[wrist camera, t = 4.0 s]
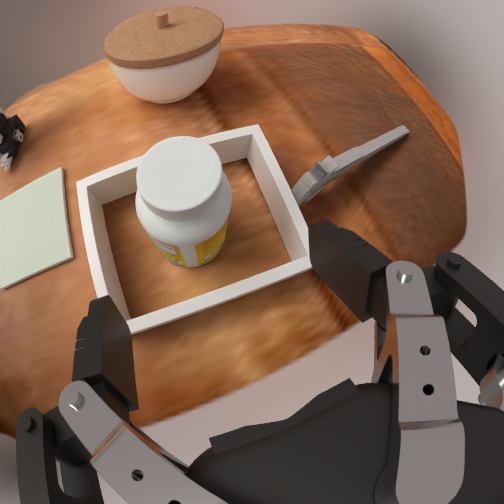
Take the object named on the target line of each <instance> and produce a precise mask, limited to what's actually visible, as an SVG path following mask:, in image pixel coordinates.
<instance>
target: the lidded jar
mask: <svg viewBox="0 0 504 504" xmlns="http://www.w3.org/2000/svg"><path fill="white" fill-rule="evenodd" d="M223 31H224V24H223V22H222V20H221V18H220V17H219V16H217V15H216V14H215V13H213V12H211V11H209V10H206V9H203V8H198V7H191V6H171V7H163V8H158V9H153V10H150V11H146V12H143V13H141V14H138V15H136V16H133V17H131V18H129V19H127V20H126V21H124V22H122V23H121V24H120V25H118V26H117V27H116V28H115V29H113V30H112V31H111V33H110V34H109V35H108V37H107V39H106V41H105V44H104V49H105V53H106V56H107V58H108V59H109V62H110V65H111V68H112V70H113V72H114V74H115V76H116V78H117V80H118V81H119V83H120V84H121V86H122V87H123V88H124V89H125V90H126V91H128V92H129V93H130V94H132V95H133V96H135V97H137V98H140V99H142V100H146V101H150V102H152V103H157V104H167V103H173V102H176V101H179V100H182V99H184V98H186V97H187V96H189V95H190V94H191V93H192V92H194V91H195V90H197V89H198V88H199V87H200V86H202V85H203V84H204V83H205V82H206V81H207V79H208V78H209V77H210V75H211V74H212V72H213V70H214V68H215V66H216V63H217V60H218V56H219V52H220V47H221V39H222V36H223Z"/></svg>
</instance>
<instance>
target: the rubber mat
mask: <svg viewBox="0 0 504 504" xmlns="http://www.w3.org/2000/svg"><path fill="white" fill-rule="evenodd" d="M73 258H74V256H73V251H72V245H71V239H70V232H69V225H68V218H67V209H66V199H65V187H64V170H63V168H62V167H60V168H58V169H56V170H54V171H52V172H50V173H48V174H46V175H44V176H42V177H40V178H38V179H36V180H35V181H33V182H31V183H29V184H27V185H26V186H24V187H22V188H20V189H19V190H17V191H15V192H14V193H12V194H10V195H9V196H7V197H6V198H4V199H2V200H1V201H0V286H1V289H6V288H8V287H10V286H12V285H14V284H16V283H18V282H21V281H23V280H25V279H27V278H29V277H31V276H34V275H36V274H38V273H40V272H43V271H45V270H47V269H49V268H52V267H54V266H56V265H59V264H61V263H63V262H66V261H68V260H70V259H73Z"/></svg>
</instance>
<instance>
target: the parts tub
mask: <svg viewBox="0 0 504 504" xmlns="http://www.w3.org/2000/svg"><path fill="white" fill-rule="evenodd" d="M198 139H200V140H203V141H205V142H206V143H208V144H209V145H210V146H212V147H213V149H214V150H215V151H216V152H217V154H218V156H219V157H220V160H221V164H225V163H229V162H232V161H236V160H240V159H244V158H247V159H248V162H249V164H250V166H251V168H252V170H253V173H254V175H255V177H256V179H257V182H258V184H259V186H260V188H261V191H262V193H263V195H264V198H265V200H266V202H267V205H268V207H269V209H270V211H271V214H272V216H273V218H274V221H275V223H276V225H277V228H278V230H279V233H280V235H281V237H282V240H283V242H284V244H285V247H286V249H287V252H288V254H289V257H290V259H291V261H292V262H289V263H287V264H284V265H281V266H279V267H276V268H273V269H271V270H268V271H265V272H263V273H260V274H257V275H255V276H252V277H249V278H247V279H244V280H241V281H238V282H236V283H233V284H230V285H227V286H225V287H222V288H219V289H216V290H214V291H211V292H208V293H205V294H203V295H200V296H197V297H194V298H191V299H188V300H186V301H183V302H180V303H177V304H174V305H171V306H169V307H166V308H163V309H160V310H157V311H154V312H151V313H148V314H145V315H142V316H139V317H137V318H134V319H131V318H130V315H129V312H128V308H127V305H126V302H125V299H124V295H123V292H122V289H121V285H120V282H119V278H118V274H117V271H116V267H115V263H114V259H113V255H112V251H111V247H110V242H109V238H108V233H107V228H106V223H105V218H104V213H103V208H102V205H103V204H106V203H108V202H111V201H113V200H116V199H119V198H121V197H124V196H126V195H129V194H132V193H134V192H137V189H138V187H137V182H136V173H137V169H138V165H139V163H140V161H141V159H142V157H143V156H144V155H143V156H140V157H137V158H134V159H132V160H129V161H126V162H123V163H121V164H118V165H116V166H113V167H110V168H108V169H105V170H103V171H101V172H98V173H96V174H93V175H91V176H89V177H86V178H84V179H82V180H80V181H77V182H76V183H77V193H78V201H79V209H80V216H81V223H82V229H83V235H84V240H85V246H86V251H87V256H88V260H89V265H90V269H91V274H92V278H93V282H94V286H95V290H96V294H97V297H98V298H100V297H103V296H106V295H109V296H110V297H111V298H112V300H113V301H114V303H115V305H116V306H117V308H118V310H119V311H120V313H121V314H122V316H123V318H124V319H125V321H126V322H127V324H128V326H129V329H130V332H131V335H133V334H137V333H140V332H143V331H146V330H149V329H152V328H155V327H158V326H161V325H164V324H166V323H169V322H172V321H175V320H178V319H181V318H184V317H187V316H189V315H192V314H195V313H198V312H201V311H204V310H206V309H209V308H212V307H215V306H217V305H220V304H223V303H226V302H228V301H231V300H234V299H236V298H239V297H242V296H244V295H247V294H250V293H252V292H255V291H257V290H260V289H263V288H265V287H268V286H270V285H273V284H276V283H278V282H281V281H283V280H286V279H288V278H291V277H293V276H296V275H298V274H301V273H303V272H306V271H308V270H310V269H311V268H312V265H311V263H310V258H309V240H308V227H307V224H306V222H305V220H304V218H303V216H302V213H301V211H300V209H299V207H298V204H297V202H296V200H295V198H294V196H293V194H292V192H291V189H290V187H289V185H288V183H287V181H286V179H285V177H284V175H283V173H282V171H281V169H280V166H279V164H278V162H277V160H276V158H275V156H274V154H273V152H272V150H271V148H270V146H269V144H268V142H267V140H266V139H265V137H264V135H263V133H262V131H261V129H260V127H259V125H258V124H257V125H252V126H247V127H243V128H238V129H234V130H229V131H225V132H221V133H217V134H213V135H209V136H205V137H201V138H198Z"/></svg>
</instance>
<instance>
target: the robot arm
mask: <svg viewBox="0 0 504 504" xmlns="http://www.w3.org/2000/svg"><path fill="white" fill-rule="evenodd" d="M308 240H309V258H310V263H311V265H312V268H313V269H314V271H315V272H316V273H317V274H318V275H319V276H320V277H321V279H322V280H323V281H324V282H325V283H326V284H327V285H328V286H329V287H330V288H331V289H332V290H333V291H334V292H335V293H336V295H337V296H338V297H339V298H340V299H341V300H342V301H343V302H344V303H345V304H346V305H347V306H348V307H349V309H350V310H351V311H352V312H353V313H354V314H355V315H356V316H357V317H358V318H359V319H360V321H361V322H362V323H363V322H365V321H367V320H368V319H370V318H372V317H373V318H374V319H375V352H374V371H373V376H372V382H371V383H365V384H359V385H354V383H353V382H352V381H351V380H350V378H349V379H347V380H345V381H343V382H341V383H340V384H338V385H336V386H334V387H332V388H330V389H329V390H327V391H325V392H323V393H321V394H319V395H317V396H316V397H315V398H314V399H312V400H311V401H310V402H309V403H308V404H306V405H305V406H304V407H303V408H301V409H300V410H299V411H297V412H296V413H295V414H294V415H292V416H291V417H289V418H288V419H286V420H282V421H277V422H270V423H264V424H258V425H250V426H244V427H242V428H239V429H236V430H233V431H230V432H227V433H224V434H221V435H217V436H214V437H211V438H209V440H210V442H211V445H212V447H211V448H209V449H207V450H206V451H205V452H203V453H202V454H201V455H200V456H198V457H197V458H196V459H195V460H194V461H193V463H192V464H191V465H190V466H188V465H186V464H185V463H183V462H182V461H180V460H179V459H177V458H176V457H174V456H173V455H171V454H170V453H169V452H167V451H166V450H165V449H163V448H162V447H161V446H160V445H158V444H157V443H156V442H155V441H153V440H152V439H151V438H150V437H148V436H147V435H146V434H145V433H144V432H143V431H142V430H141V429H139V428H138V427H137V426H136V425H135V424H134V423H133V422H131V421H130V416H129V412H130V411H134V410H138V409H139V405H138V398H137V390H136V381H135V372H134V361H133V347H132V335H131V332H130V329H129V326H128V324H127V322H126V321H125V319H124V318H123V316H122V314H121V313H120V311H119V310H118V308H117V306H116V305H115V303H114V301H113V300H112V298H111V297H110V296H109V295H106V296H103V297H100V298H97V299H94V300H92V301H90V304H89V311H88V316H86V317H84V318H83V320H82V321H81V323H80V325H79V327H78V331H77V338H76V340H77V341H76V346H75V349H76V350H75V354H74V364H73V375H72V383H70V384H69V385H67V386H66V387H65V388H64V389H63V391H62V392H61V395H60V397H59V403H58V405H59V406H57V407H55V408H54V409H52V410H50V411H48V412H47V413H45V414H43V413H41V412H40V411H39V410H37V409H36V408H28V409H26V410H24V411H23V412H22V413H21V415H20V417H19V419H18V422H17V432H16V453H17V454H16V456H17V474H18V486H19V494H20V501H21V504H104V501H103V497H102V493H101V489H100V485H99V480H98V475H97V472H98V473H99V474H100V475H101V476H102V477H103V478H104V479H105V481H106V482H107V483H108V484H109V485H110V486H111V487H112V488H113V489H114V490H115V491H116V492H117V493H118V494H119V495H120V496H121V497H122V498H123V499H124V500H125V501H126V502H127V503H128V504H504V291H503V290H502V289H501V288H500V287H499V286H498V285H496V284H495V283H494V282H493V281H492V280H490V279H489V278H488V277H487V276H486V275H485V274H483V273H482V272H481V271H480V270H479V269H477V268H476V267H475V266H474V265H472V264H471V263H470V262H469V261H467V260H466V259H465V258H464V257H462V256H461V255H459V254H456V253H453V252H444V253H441V254H440V255H439V256H438V258H437V262H436V266H432V267H427V268H422V269H421V268H420V267H418V266H417V265H415V264H414V263H411V262H408V261H396V262H393V261H392V260H390V259H389V258H388V257H386V256H385V255H384V254H383V253H381V252H380V251H379V250H377V249H376V248H375V247H373V246H372V245H371V244H370V245H369V243H368V242H367V241H365V240H364V239H362V238H361V237H360V236H358V235H357V234H356V233H354V232H353V231H350V230H347V229H344V228H338V227H337V226H335V225H334V224H333V223H331V222H330V221H328V220H324V221H321V222H318V223H315V224H312V225H310V226H309V227H308ZM458 299H460V300H461V301H462V302H463V303H464V304H465V305H466V306H467V307H468V308H469V309H470V310H471V311H472V312H473V313H474V314H475V315H476V318H477V325H476V327H474V326H473V325H472V324H471V323H470V322H469V321H468V320H467V319H466V318H465V317H464V316H463V315H462V314H461V313H460V312H459V311H458V310H457V309H456V308H455V306H456V303H457V301H458ZM451 353H452V354H453V355H454V356H455V357H456V358H457V360H458V361H459V362H460V363H461V364H462V365H463V367H464V368H465V369H466V370H467V372H468V373H469V374H470V375H471V376H472V378H473V379H474V380H475V381H476V382H477V384H478V385H479V386H480V394H479V396H478V401H479V403H480V404H481V405H479V404H473V403H468V402H463V401H458V400H456V389H455V380H454V373H453V365H452V359H451ZM485 405H486V406H485ZM55 460H56V461H58V462H60V468H61V475H62V482H63V488H64V492H63V491H62V490H61V488H60V486H59V484H58V478H57V470H56V461H55Z"/></svg>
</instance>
